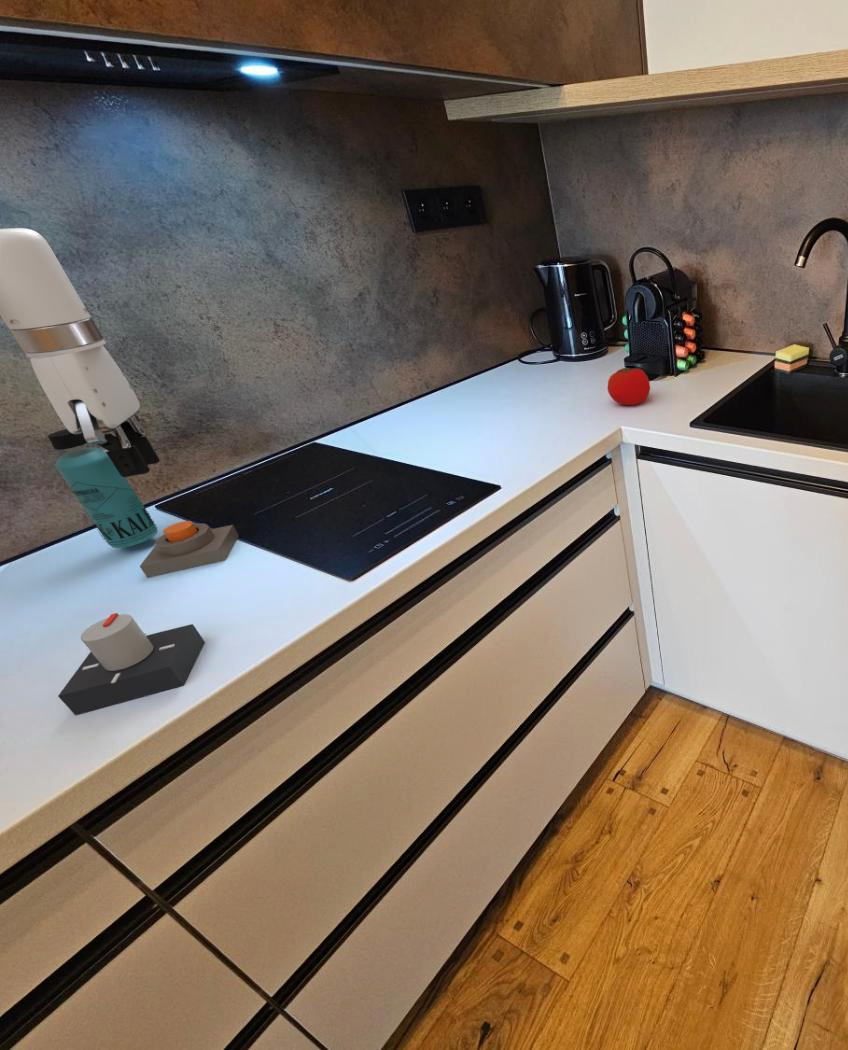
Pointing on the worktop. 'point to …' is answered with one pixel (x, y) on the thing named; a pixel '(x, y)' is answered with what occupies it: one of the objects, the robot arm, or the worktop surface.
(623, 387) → the tomato
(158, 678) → the black angular plate
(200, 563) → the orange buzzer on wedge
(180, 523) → the lid button
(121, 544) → the beverage bottle
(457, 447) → the worktop surface
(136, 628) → the dial
